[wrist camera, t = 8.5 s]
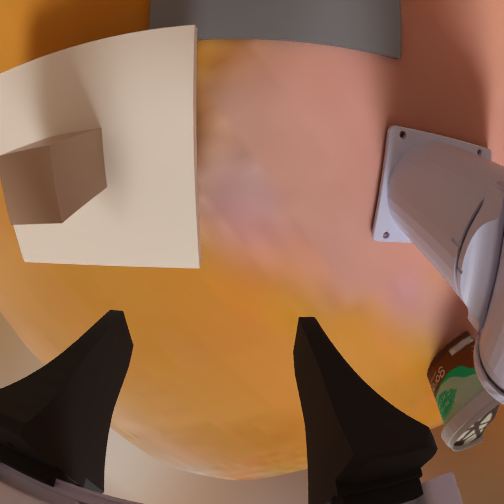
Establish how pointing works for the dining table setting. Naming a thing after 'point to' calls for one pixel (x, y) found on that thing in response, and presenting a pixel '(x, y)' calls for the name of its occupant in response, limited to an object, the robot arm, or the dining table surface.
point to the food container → (460, 394)
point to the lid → (105, 152)
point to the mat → (289, 21)
